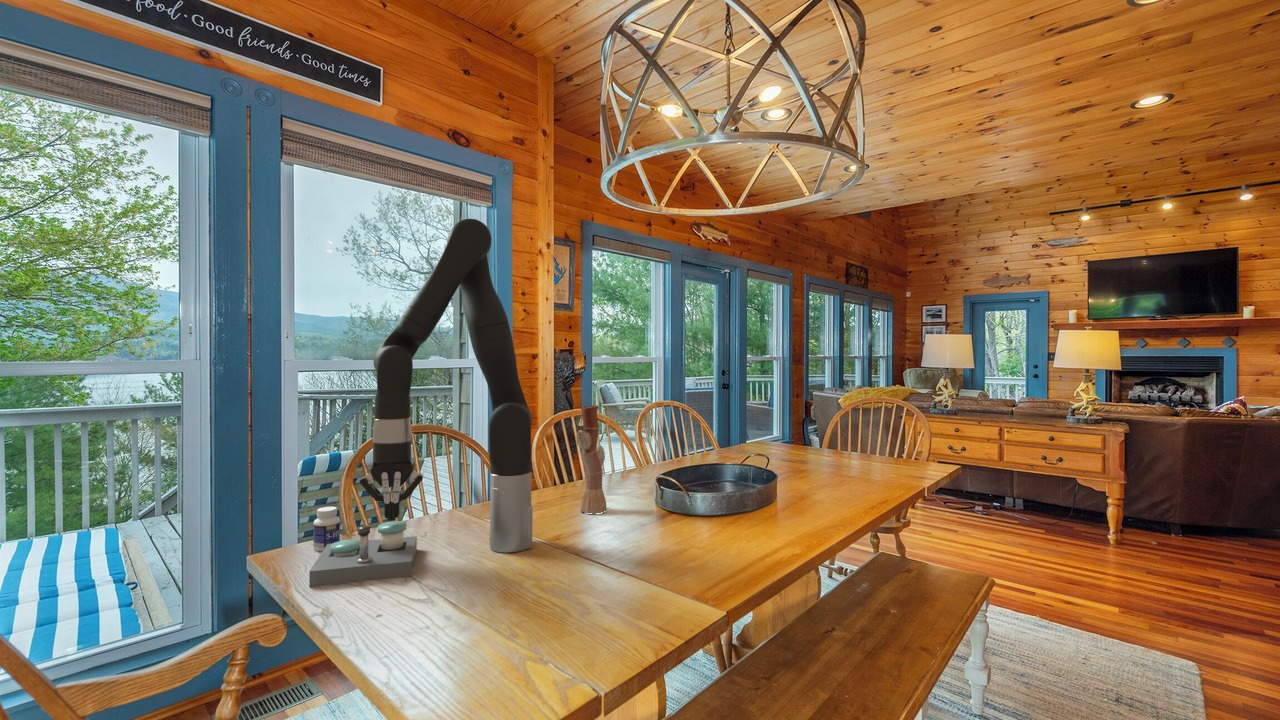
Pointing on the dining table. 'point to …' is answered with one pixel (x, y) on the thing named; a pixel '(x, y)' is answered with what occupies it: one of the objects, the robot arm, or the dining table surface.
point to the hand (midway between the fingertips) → (391, 519)
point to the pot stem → (364, 544)
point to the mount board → (364, 564)
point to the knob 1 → (345, 547)
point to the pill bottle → (326, 528)
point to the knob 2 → (392, 534)
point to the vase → (591, 461)
